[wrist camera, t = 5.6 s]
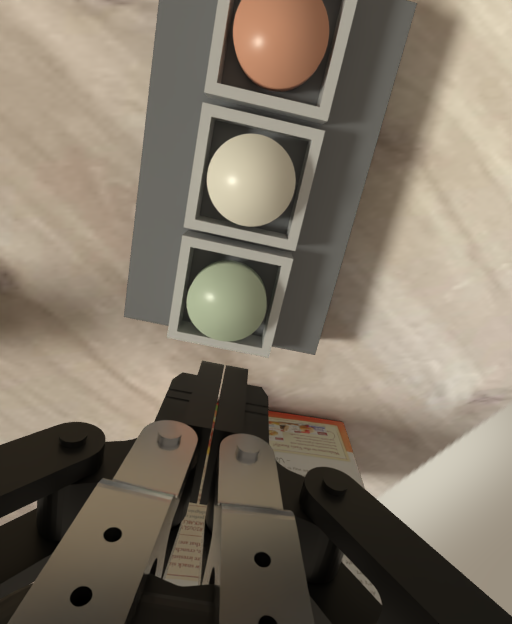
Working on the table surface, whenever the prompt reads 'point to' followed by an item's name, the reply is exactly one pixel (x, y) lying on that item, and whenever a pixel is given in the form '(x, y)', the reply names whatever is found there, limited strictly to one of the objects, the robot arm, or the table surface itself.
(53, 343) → the table surface
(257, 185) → the cream button
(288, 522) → the robot arm
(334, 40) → the button panel
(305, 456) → the cracker box
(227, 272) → the sage button
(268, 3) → the terracotta button
